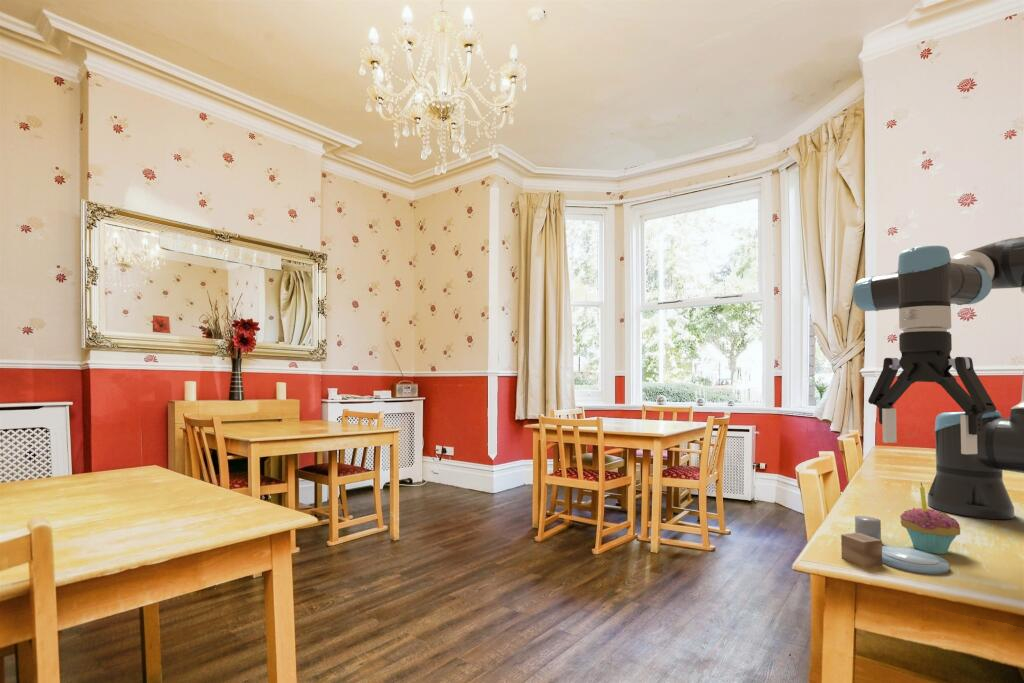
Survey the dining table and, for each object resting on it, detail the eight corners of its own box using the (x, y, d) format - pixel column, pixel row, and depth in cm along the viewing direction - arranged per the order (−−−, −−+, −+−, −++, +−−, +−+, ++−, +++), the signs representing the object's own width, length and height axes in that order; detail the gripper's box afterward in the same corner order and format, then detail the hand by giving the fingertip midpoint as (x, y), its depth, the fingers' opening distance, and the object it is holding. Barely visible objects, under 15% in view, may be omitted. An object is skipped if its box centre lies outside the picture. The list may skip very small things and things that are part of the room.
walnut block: (859, 556, 89) (859, 532, 89) (882, 565, 85) (881, 540, 85) (841, 558, 88) (841, 534, 88) (863, 567, 84) (863, 542, 84)
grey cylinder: (865, 536, 100) (865, 515, 100) (886, 543, 96) (885, 521, 96) (850, 537, 99) (849, 516, 99) (870, 544, 95) (869, 522, 95)
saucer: (901, 549, 92) (901, 542, 92) (964, 571, 83) (964, 563, 83) (859, 554, 89) (858, 547, 89) (919, 577, 80) (919, 569, 80)
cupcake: (943, 560, 87) (941, 488, 88) (889, 544, 95) (888, 478, 96) (971, 554, 91) (969, 485, 91) (917, 539, 99) (916, 475, 99)
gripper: (847, 334, 106) (848, 438, 105) (990, 325, 82) (993, 460, 81) (874, 335, 108) (876, 438, 107) (1022, 327, 84) (1025, 459, 83)
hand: (926, 447), depth 94 cm, fingers open, 13 cm apart
